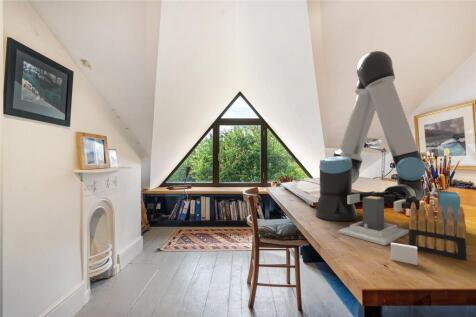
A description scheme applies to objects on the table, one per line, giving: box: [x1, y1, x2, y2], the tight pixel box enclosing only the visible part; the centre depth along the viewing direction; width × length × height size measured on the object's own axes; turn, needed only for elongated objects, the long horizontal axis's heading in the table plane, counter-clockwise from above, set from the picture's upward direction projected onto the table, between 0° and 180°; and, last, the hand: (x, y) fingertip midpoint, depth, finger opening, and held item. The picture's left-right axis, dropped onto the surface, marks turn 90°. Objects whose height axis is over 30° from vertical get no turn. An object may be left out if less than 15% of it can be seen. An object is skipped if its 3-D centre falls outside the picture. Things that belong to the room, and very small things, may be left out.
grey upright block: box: [362, 196, 385, 231], centre depth 72 cm, size 4×5×10 cm
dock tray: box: [338, 220, 409, 246], centre depth 72 cm, size 13×17×4 cm
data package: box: [437, 190, 461, 235], centre depth 72 cm, size 12×4×12 cm, turn 141°
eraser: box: [390, 242, 418, 265], centre depth 53 cm, size 1×5×4 cm, turn 57°
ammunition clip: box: [408, 202, 468, 262], centre depth 57 cm, size 11×2×12 cm, turn 47°
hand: (369, 203), depth 71 cm, fingers open, 13 cm apart
